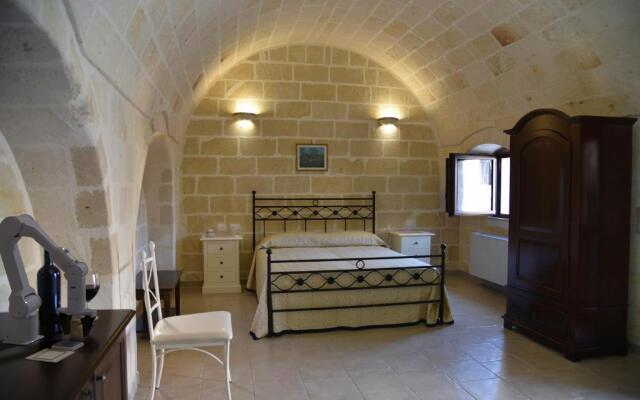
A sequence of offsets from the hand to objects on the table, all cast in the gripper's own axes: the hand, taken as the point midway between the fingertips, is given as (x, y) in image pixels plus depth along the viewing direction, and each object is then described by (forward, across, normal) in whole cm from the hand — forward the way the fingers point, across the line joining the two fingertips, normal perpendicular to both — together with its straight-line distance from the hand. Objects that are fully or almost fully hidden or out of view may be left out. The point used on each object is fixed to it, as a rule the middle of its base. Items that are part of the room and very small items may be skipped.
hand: (76, 335), depth 154 cm
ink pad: (+2, +2, -6) cm, 7 cm away
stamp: (+2, 0, 0) cm, 2 cm away
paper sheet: (+2, +2, -14) cm, 14 cm away
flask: (+2, -8, +11) cm, 14 cm away
